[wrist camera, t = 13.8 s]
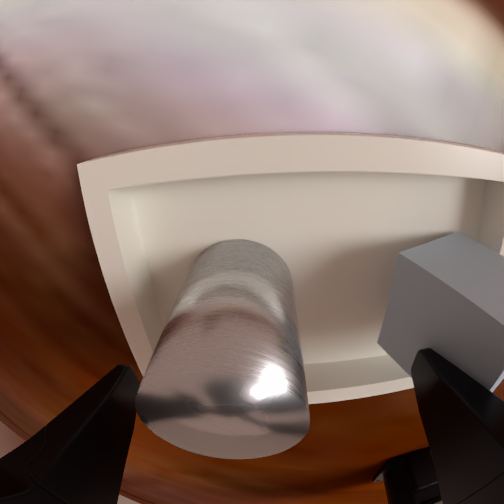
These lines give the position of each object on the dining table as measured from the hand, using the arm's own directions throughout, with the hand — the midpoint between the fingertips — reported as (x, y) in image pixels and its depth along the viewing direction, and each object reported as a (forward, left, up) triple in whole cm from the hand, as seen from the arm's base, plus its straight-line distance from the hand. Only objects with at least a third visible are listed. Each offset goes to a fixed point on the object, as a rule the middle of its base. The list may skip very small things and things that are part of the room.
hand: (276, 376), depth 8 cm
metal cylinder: (+1, +1, -4) cm, 4 cm away
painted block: (+1, -6, -3) cm, 7 cm away
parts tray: (+1, -2, -5) cm, 5 cm away
